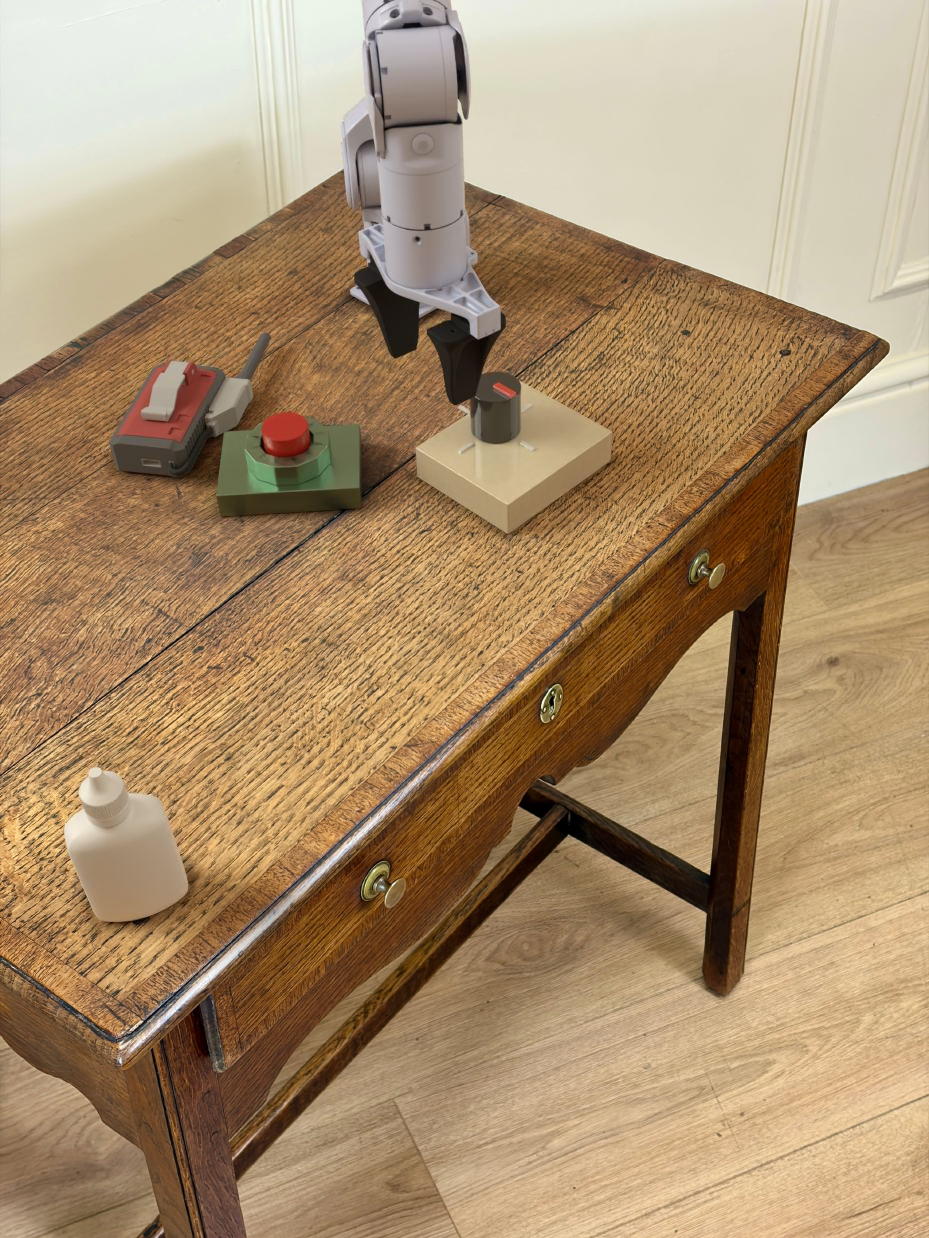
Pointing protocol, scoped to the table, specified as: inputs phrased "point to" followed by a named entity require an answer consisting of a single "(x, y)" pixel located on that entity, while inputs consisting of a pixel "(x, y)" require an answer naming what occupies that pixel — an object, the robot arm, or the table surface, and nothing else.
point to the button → (286, 434)
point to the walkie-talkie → (181, 414)
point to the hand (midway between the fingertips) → (432, 375)
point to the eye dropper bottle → (124, 850)
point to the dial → (496, 408)
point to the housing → (291, 473)
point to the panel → (515, 461)
